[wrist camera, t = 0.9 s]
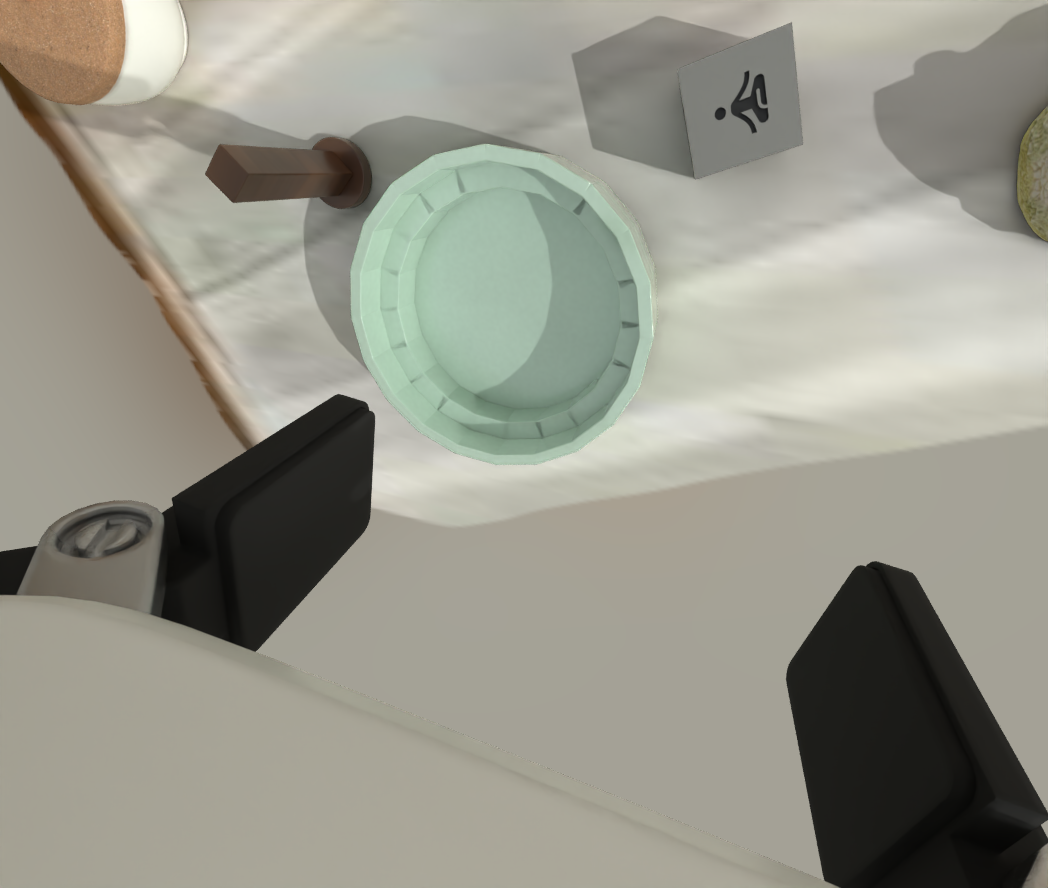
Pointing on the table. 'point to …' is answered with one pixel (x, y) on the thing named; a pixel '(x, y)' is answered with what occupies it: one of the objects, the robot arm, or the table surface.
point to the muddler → (293, 173)
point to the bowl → (504, 303)
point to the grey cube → (742, 102)
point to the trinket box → (93, 48)
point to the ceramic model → (1034, 175)
